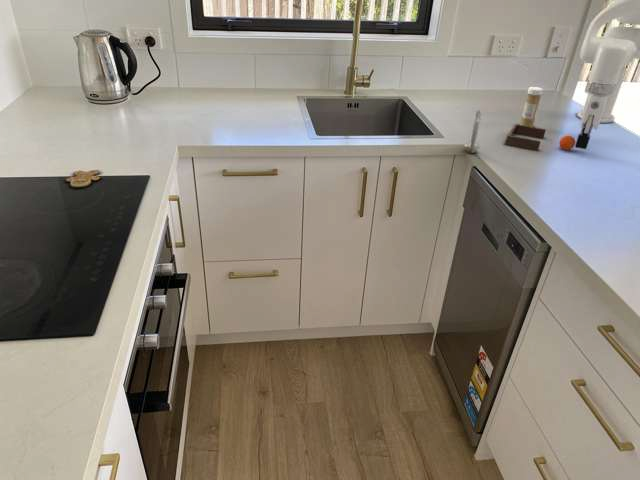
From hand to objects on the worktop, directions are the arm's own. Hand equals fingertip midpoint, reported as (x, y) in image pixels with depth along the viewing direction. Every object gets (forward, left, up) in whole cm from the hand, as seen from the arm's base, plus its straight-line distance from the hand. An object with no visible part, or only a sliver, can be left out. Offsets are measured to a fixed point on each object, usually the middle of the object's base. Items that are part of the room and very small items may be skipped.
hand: (580, 147), depth 151 cm
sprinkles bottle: (-16, -18, -2) cm, 24 cm away
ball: (+1, -4, +1) cm, 4 cm away
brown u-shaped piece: (0, -16, -1) cm, 17 cm away
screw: (+19, -29, -2) cm, 35 cm away
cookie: (+94, -112, -1) cm, 147 cm away
